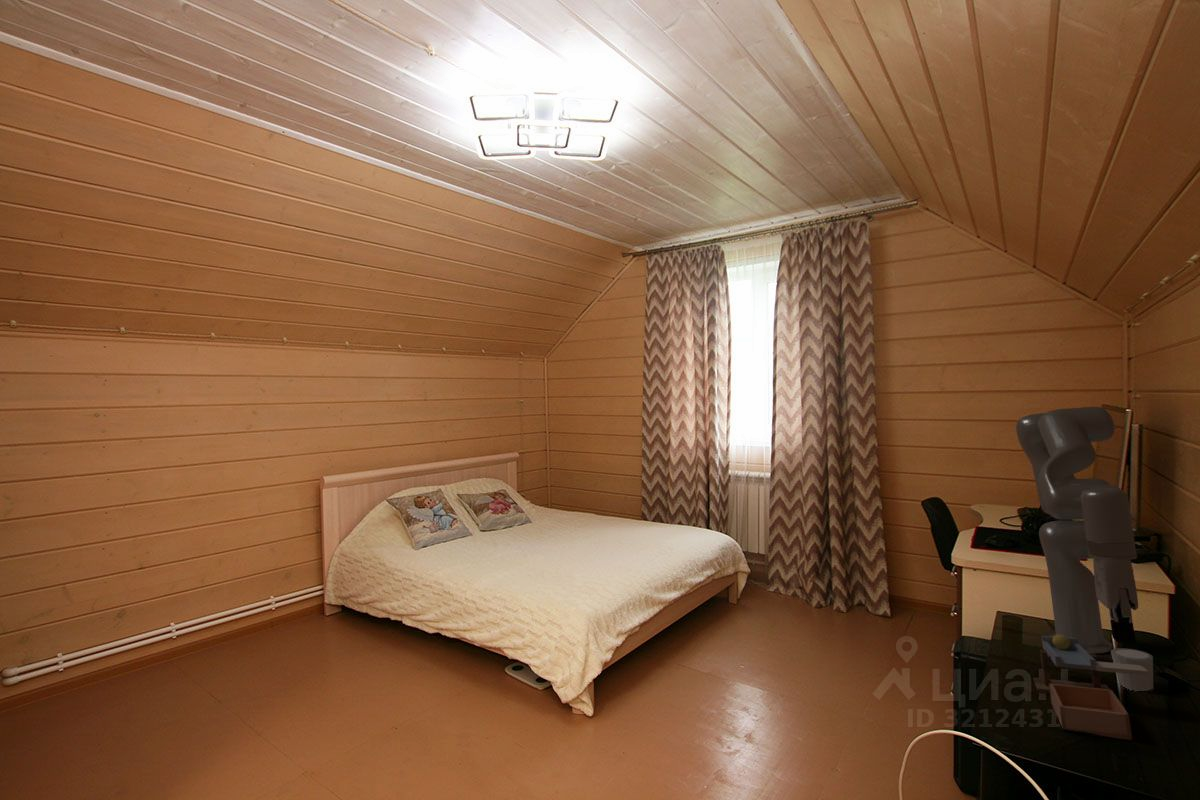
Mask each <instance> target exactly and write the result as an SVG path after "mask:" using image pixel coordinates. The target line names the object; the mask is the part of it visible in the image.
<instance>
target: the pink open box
mask: <svg viewBox="0 0 1200 800" xmlns="http://www.w3.org/2000/svg"><path fill="white" fill-rule="evenodd" d="M1049 689H1050V694H1049V695H1050V704H1052V705H1051V707H1052V706H1053V707H1052V710H1053V709H1054V710H1053V712H1054V711H1055V712H1054V714H1055V713H1056V714H1055V716H1056V715H1057V716H1056V718H1057V717H1058V719H1059V721H1058V723H1059V722H1060V723H1059V725H1060V724H1061V726H1062V728H1063V729H1068V730H1074V731H1084V732H1088V733H1091V734H1095V735H1094V736H1096V735H1098V736H1097V737H1103V736H1105V737H1104V738H1111V739H1112V738H1113V739H1120V740H1127V741H1133V734H1132V728H1131V722H1130V721H1131V719H1130V714H1129V713H1128V712H1127V710H1126V709H1125V707H1124V705H1123V704H1122V703H1121V701H1120V700H1119V698H1118V697H1117V696H1116V694H1115V693H1114V691H1113V690H1112V689H1111V688H1109V689H1100V688H1090V687H1080V686H1071V685H1061V684H1051V683H1049ZM1058 719H1057V720H1058ZM1061 726H1060V727H1061ZM1062 728H1061V729H1062Z"/></svg>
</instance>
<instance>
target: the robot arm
mask: <svg viewBox="0 0 1200 800" xmlns="http://www.w3.org/2000/svg"><path fill="white" fill-rule="evenodd" d="M1015 427H1016V428H1015V429H1016V435H1017V441H1018V442H1019V445H1020V447H1021V448H1022V450H1023V452H1024V454H1025V455H1026V457H1027V459H1028V460H1029V462H1030V464H1031V467H1032V472H1033V475H1034V477H1033V478H1034V482H1035V486H1036V487H1035V488H1036V492H1037V497H1038V500H1039V503H1040V504H1039V505H1040V507H1041V509H1042V510H1043V512H1044V513H1046V514H1047V515H1050V516H1052V517H1053V518H1054V519H1057V520H1054V521H1049V522H1045V523H1043V524H1042V525H1041V526H1040V528H1039V531H1038V536H1039V542H1040V545H1041V547H1042V551H1043V555H1044V558H1045V562H1046V566H1047V567H1046V568H1047V573H1048V580H1049V581H1048V582H1049V588H1050V590H1049V591H1050V597H1051V604H1052V612H1053V621H1054V627H1055V633H1052V634H1050V635H1049V637H1054V636H1055V635H1064V636H1066V637H1067V638H1076V639H1078V644H1079V645H1080V646H1081V647H1082V648H1083V649H1084V650H1085V651H1086V652H1087V653H1088V654H1089V653H1094V654H1105V653H1106V654H1107V653H1108V652H1111V650H1113V644H1112V642H1111V641H1109V640H1108V639H1106V638H1104V633H1103V627H1102V626H1103V624H1102V617H1101V611H1100V603H1101V604H1102V605H1103V606H1104V607H1106V608H1107V609H1108V610H1109V617H1110V619H1109V620H1110V627H1111V628H1110V629H1111V634H1112V639H1113V640H1114V641H1115V642H1117V643H1126V644H1127V643H1128V644H1135V643H1136V636H1135V635H1136V634H1135V627H1134V621H1133V616H1132V615H1133V614H1132V611H1137V610H1138V609H1139V599H1138V598H1139V597H1138V594H1137V593H1138V592H1137V586H1136V581H1135V575H1134V569H1133V564H1132V560H1135V559H1138V557H1137V555H1138V554H1137V551H1136V543H1135V536H1134V529H1133V522H1132V514H1131V508H1130V502H1129V496H1128V494H1127V492H1125V490H1122V489H1121V488H1120V487H1119V486H1117V485H1115V484H1111V483H1109V482H1108V481H1107V480H1106V479H1102V478H1095V477H1094V478H1091V477H1089V478H1077V477H1076V476H1075V474H1077V473H1079V472H1081V471H1085V470H1086V469H1088V468H1089V467H1091V466H1092V465H1093V464H1094V463H1095V461H1096V459H1097V453H1096V452H1097V451H1096V449H1095V448H1094V446H1093V444H1092V443H1096V442H1105V441H1108V440H1110V439H1112V438H1113V436H1114V434H1115V421H1114V419H1113V417H1112V416H1111V414H1110V413H1109V411H1108V410H1106V409H1105V408H1103V407H1101V406H1084V407H1072V408H1071V407H1069V408H1059V409H1052V410H1049V411H1046V412H1040V413H1039V412H1038V413H1034V414H1033V413H1032V414H1028V415H1025V416H1022V417H1020V418H1019V419H1018V420H1017V422H1016V426H1015ZM1087 559H1092V560H1093V561H1092V562H1093V572H1092V570H1090V569H1089V568H1088V567H1087V566H1085V564H1083V563H1082V561H1080V560H1087Z"/></svg>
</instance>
